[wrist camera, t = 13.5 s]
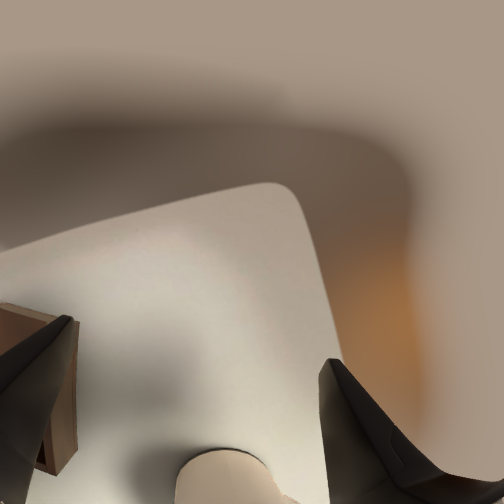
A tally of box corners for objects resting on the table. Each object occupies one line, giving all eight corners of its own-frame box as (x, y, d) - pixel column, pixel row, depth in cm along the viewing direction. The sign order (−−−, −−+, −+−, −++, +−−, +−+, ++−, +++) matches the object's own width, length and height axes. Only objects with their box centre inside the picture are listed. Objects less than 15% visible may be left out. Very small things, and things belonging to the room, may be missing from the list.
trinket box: (78, 449, 19) (56, 477, 14) (8, 424, 18) (-21, 442, 13) (79, 321, 21) (51, 325, 16) (7, 303, 20) (-28, 300, 15)
